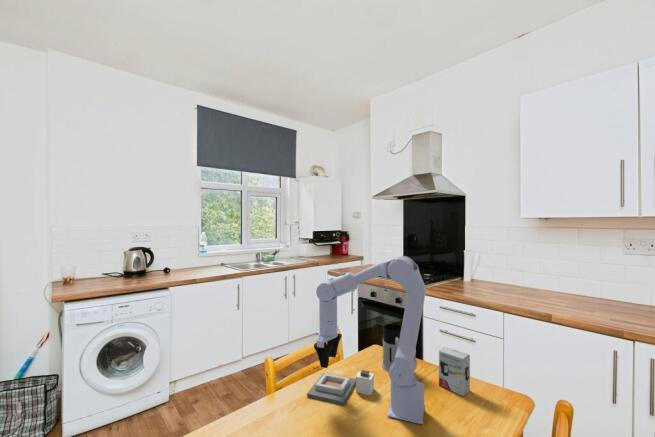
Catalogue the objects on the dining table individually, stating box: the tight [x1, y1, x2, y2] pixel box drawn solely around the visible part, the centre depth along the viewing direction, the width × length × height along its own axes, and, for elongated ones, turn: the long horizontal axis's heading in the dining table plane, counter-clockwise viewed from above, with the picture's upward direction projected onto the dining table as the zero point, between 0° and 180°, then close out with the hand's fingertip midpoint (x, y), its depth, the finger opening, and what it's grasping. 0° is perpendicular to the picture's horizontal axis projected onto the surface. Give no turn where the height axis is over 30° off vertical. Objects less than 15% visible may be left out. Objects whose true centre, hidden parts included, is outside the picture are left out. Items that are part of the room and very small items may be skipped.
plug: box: [355, 370, 375, 396], centre depth 97 cm, size 5×4×6 cm
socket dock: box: [306, 372, 356, 406], centre depth 98 cm, size 12×14×2 cm
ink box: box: [438, 346, 471, 397], centre depth 99 cm, size 9×5×12 cm, turn 42°
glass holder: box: [381, 323, 402, 373], centre depth 111 cm, size 9×14×15 cm, turn 178°
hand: (328, 361), depth 96 cm, fingers open, 7 cm apart
